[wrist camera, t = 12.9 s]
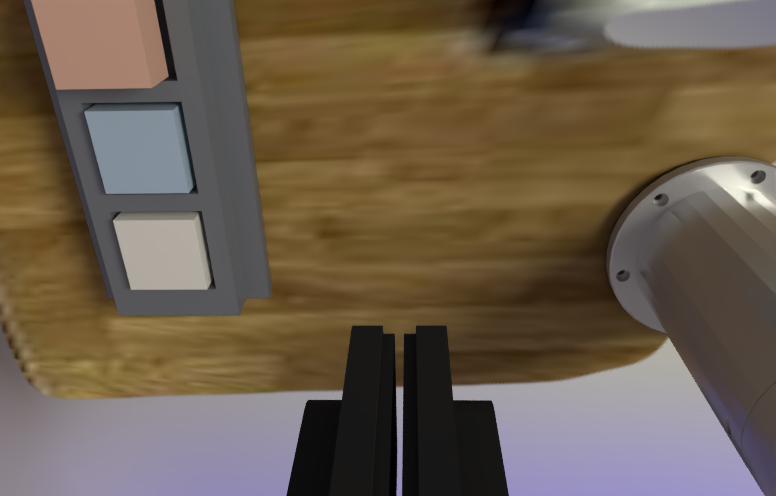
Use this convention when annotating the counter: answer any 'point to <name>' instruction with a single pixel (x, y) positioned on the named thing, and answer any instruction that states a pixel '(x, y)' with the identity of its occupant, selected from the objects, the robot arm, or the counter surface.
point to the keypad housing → (209, 156)
